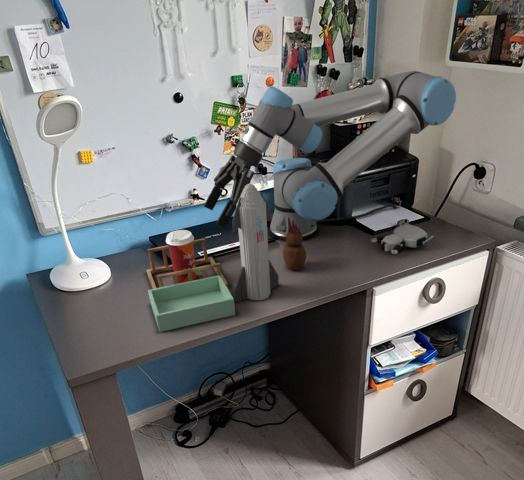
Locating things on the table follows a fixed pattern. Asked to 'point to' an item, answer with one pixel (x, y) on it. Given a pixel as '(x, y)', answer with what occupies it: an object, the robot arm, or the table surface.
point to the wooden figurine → (294, 248)
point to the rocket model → (253, 246)
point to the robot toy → (402, 238)
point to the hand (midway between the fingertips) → (214, 216)
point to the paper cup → (182, 253)
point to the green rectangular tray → (191, 303)
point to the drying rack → (189, 271)
